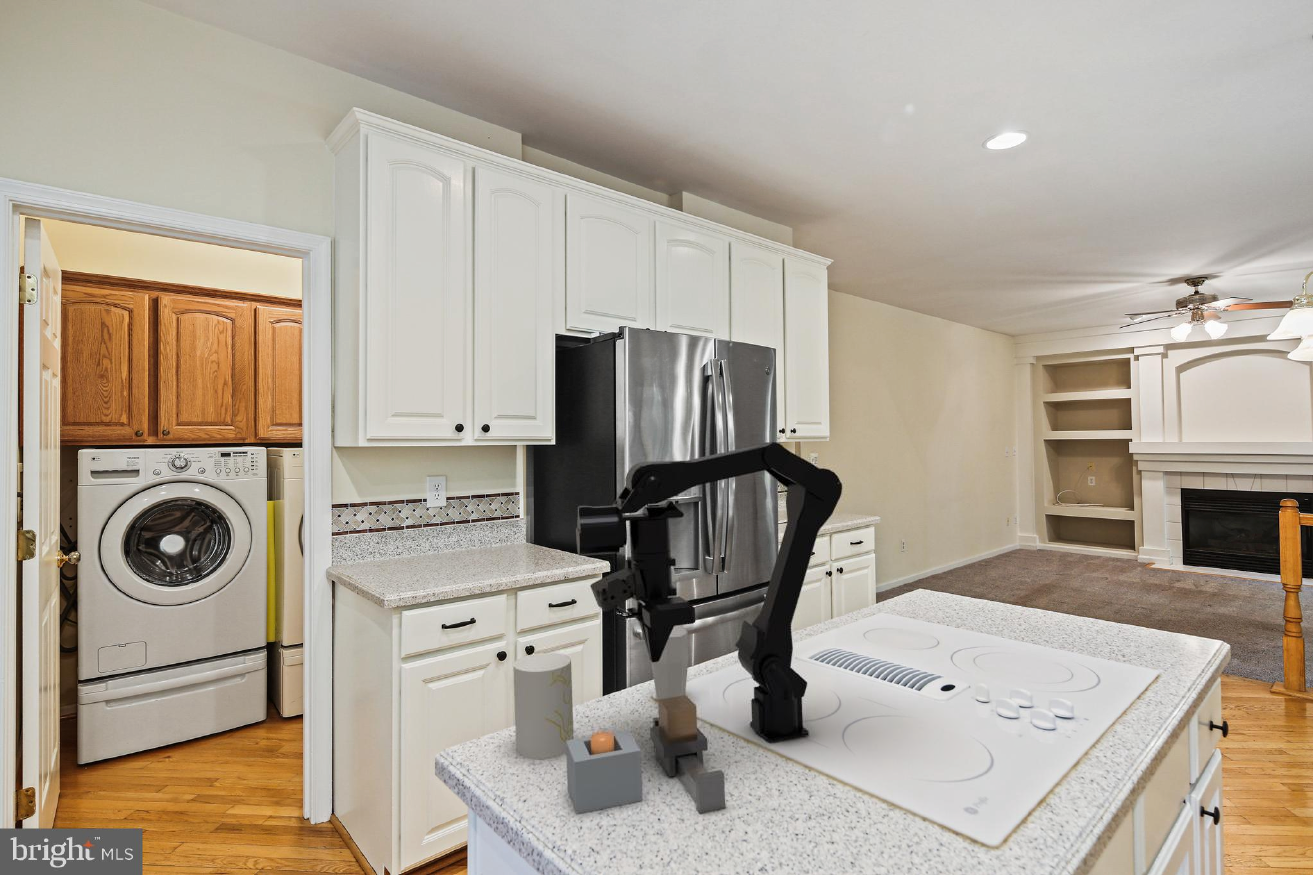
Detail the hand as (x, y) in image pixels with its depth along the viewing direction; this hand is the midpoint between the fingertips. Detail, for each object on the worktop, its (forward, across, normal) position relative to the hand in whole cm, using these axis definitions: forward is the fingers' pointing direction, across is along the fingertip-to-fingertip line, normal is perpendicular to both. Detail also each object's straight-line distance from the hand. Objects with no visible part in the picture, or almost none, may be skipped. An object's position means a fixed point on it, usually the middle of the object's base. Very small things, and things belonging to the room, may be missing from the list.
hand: (654, 661), depth 93 cm
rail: (+12, +9, +1) cm, 15 cm away
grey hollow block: (+12, +10, -10) cm, 18 cm away
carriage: (+12, +6, +1) cm, 13 cm away
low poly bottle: (+12, -15, +7) cm, 21 cm away
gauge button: (+8, +10, -10) cm, 16 cm away
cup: (+12, -6, -15) cm, 20 cm away
